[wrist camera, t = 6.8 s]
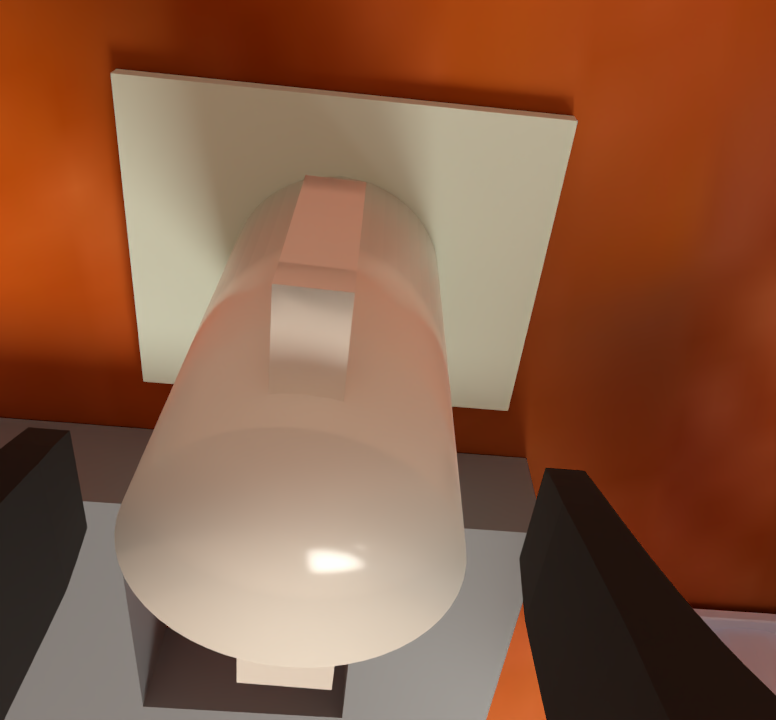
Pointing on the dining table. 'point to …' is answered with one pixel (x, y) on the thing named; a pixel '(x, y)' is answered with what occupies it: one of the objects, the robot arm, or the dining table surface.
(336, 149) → the mat
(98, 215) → the dining table surface
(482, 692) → the holder
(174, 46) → the dining table surface
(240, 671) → the cream strapped capsule
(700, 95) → the dining table surface
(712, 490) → the dining table surface
